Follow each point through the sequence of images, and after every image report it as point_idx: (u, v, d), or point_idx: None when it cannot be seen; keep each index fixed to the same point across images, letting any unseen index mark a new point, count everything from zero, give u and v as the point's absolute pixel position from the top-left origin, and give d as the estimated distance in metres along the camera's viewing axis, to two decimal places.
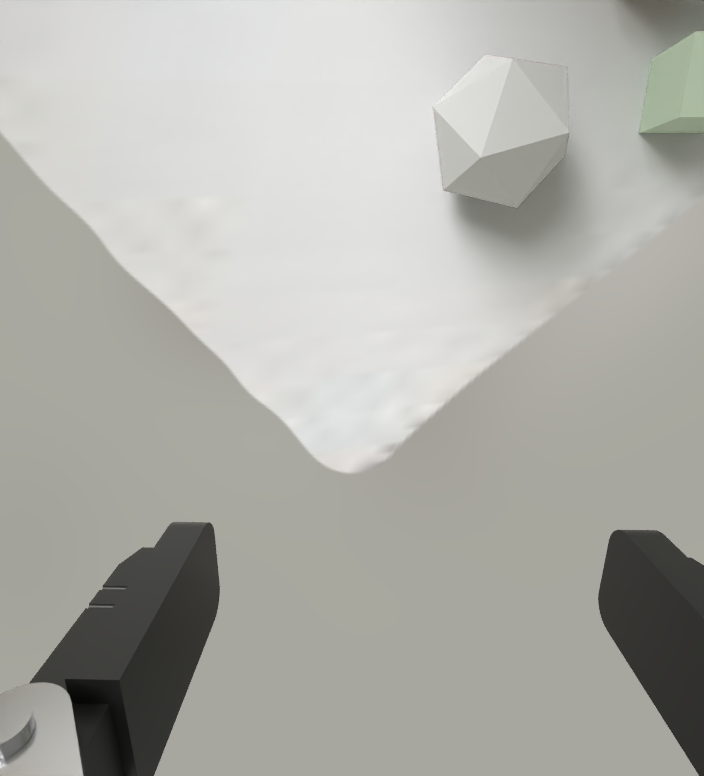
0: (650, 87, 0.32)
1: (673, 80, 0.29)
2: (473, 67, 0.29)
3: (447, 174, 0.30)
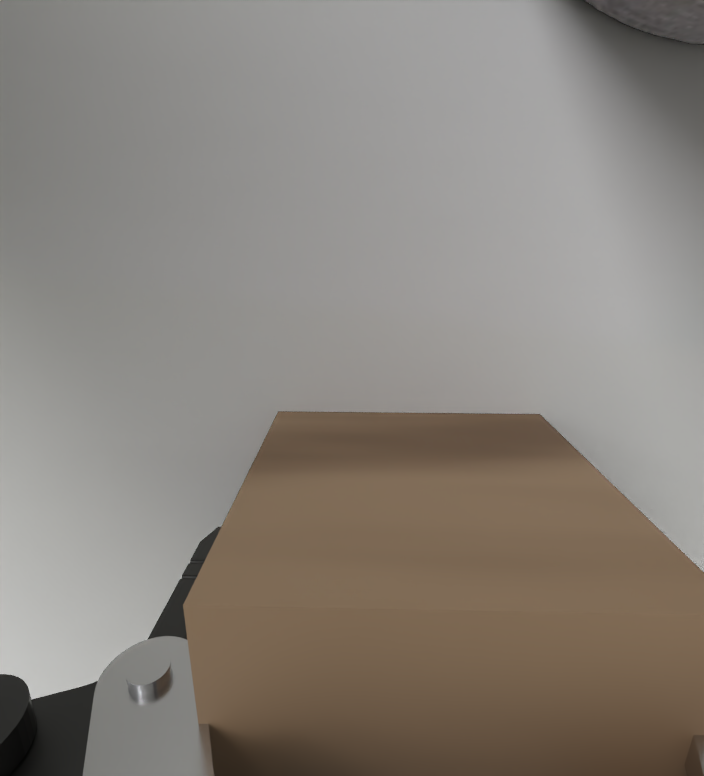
0: None
1: None
2: None
3: None
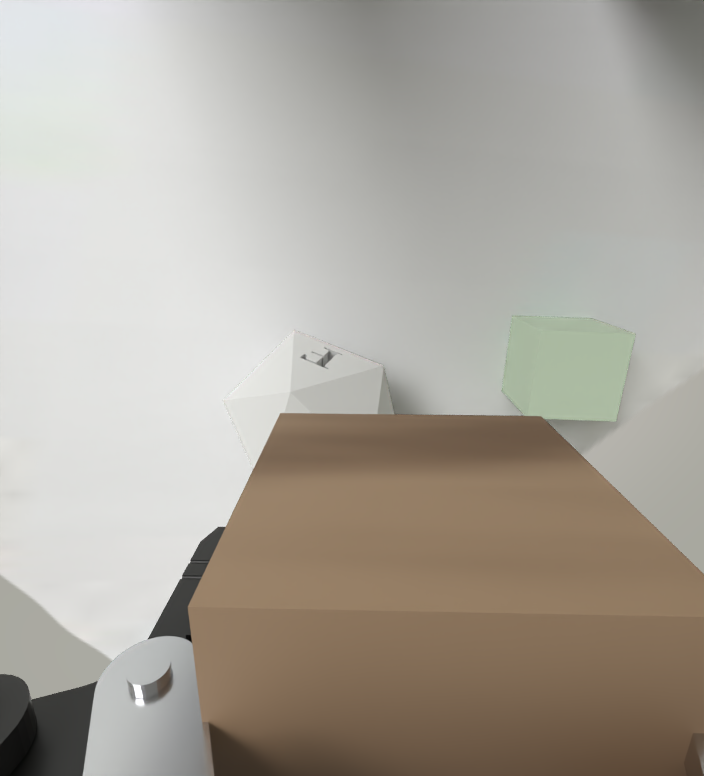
0: (510, 348, 0.26)
1: (524, 366, 0.24)
2: (276, 349, 0.23)
3: None
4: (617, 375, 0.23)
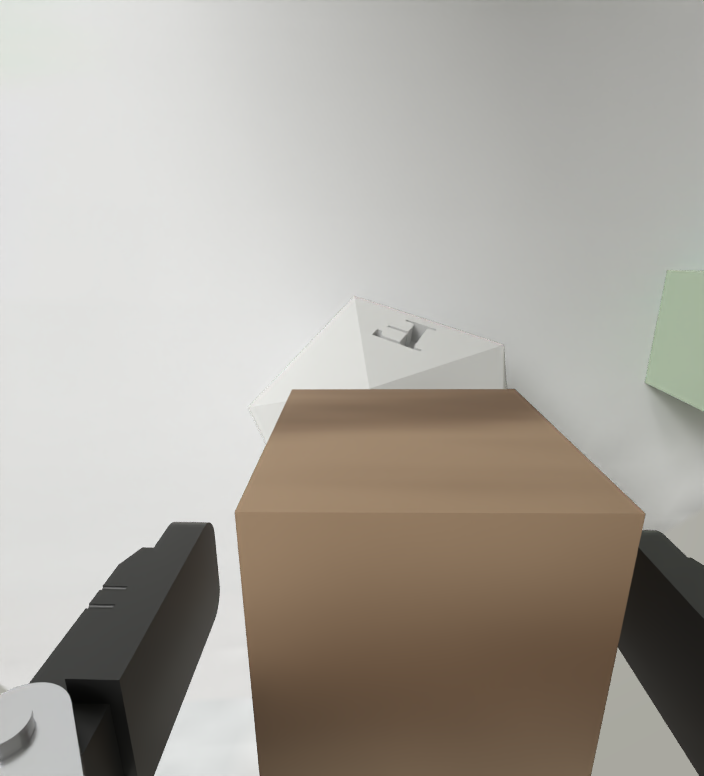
0: (665, 319, 0.18)
1: None
2: (328, 326, 0.15)
3: None
4: None
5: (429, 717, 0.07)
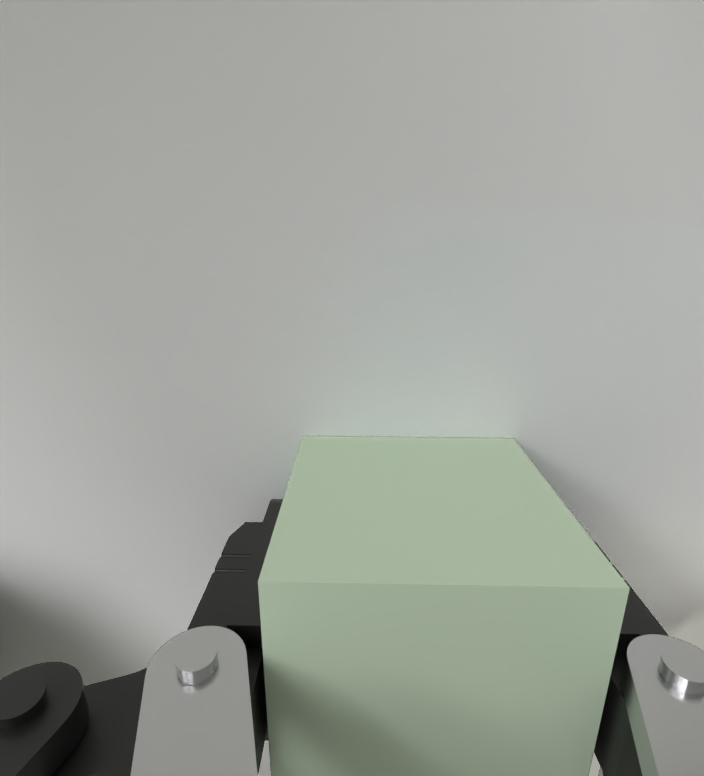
0: None
1: None
2: None
3: None
4: (570, 716, 0.06)
5: None
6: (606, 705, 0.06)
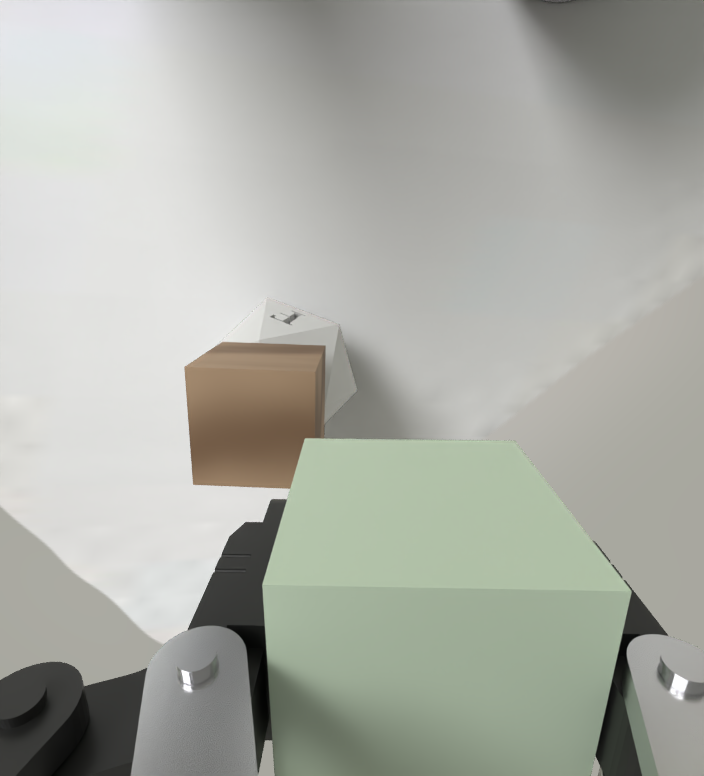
0: None
1: None
2: (252, 312, 0.28)
3: None
4: (572, 718, 0.06)
5: (253, 450, 0.21)
6: (606, 705, 0.06)
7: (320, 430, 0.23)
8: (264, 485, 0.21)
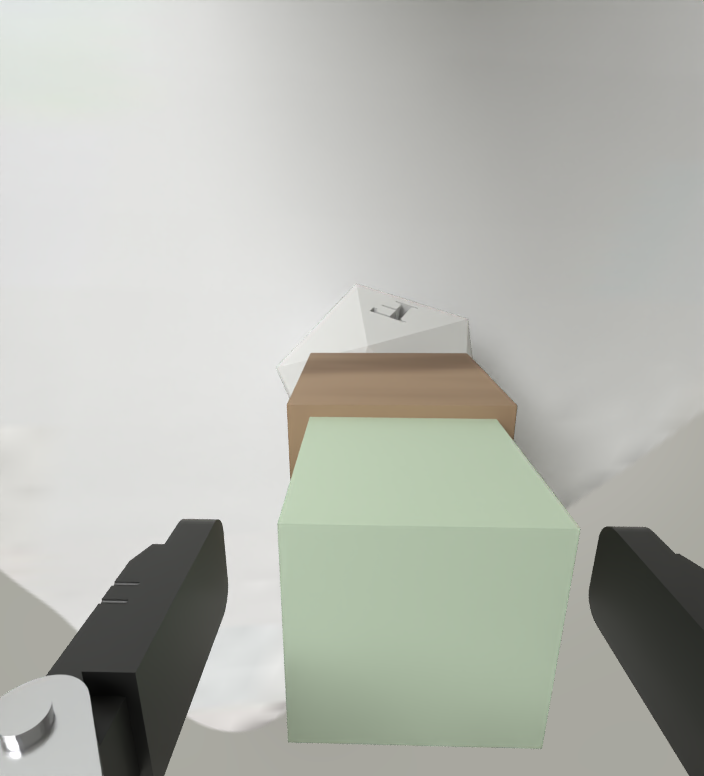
0: None
1: None
2: (337, 306, 0.20)
3: None
4: (535, 640, 0.07)
5: None
6: None
7: None
8: None
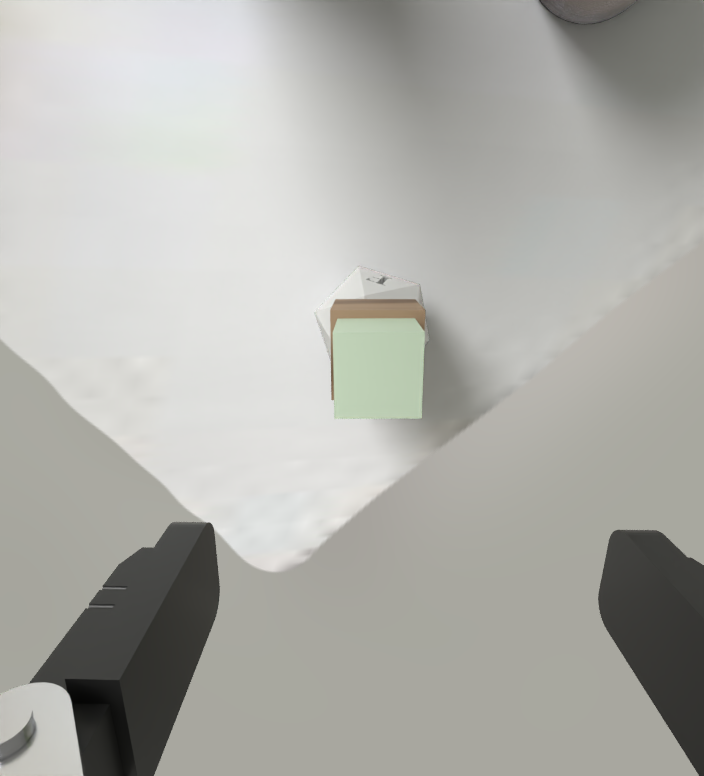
0: None
1: None
2: (347, 278, 0.36)
3: None
4: (415, 373, 0.23)
5: None
6: None
7: None
8: None
